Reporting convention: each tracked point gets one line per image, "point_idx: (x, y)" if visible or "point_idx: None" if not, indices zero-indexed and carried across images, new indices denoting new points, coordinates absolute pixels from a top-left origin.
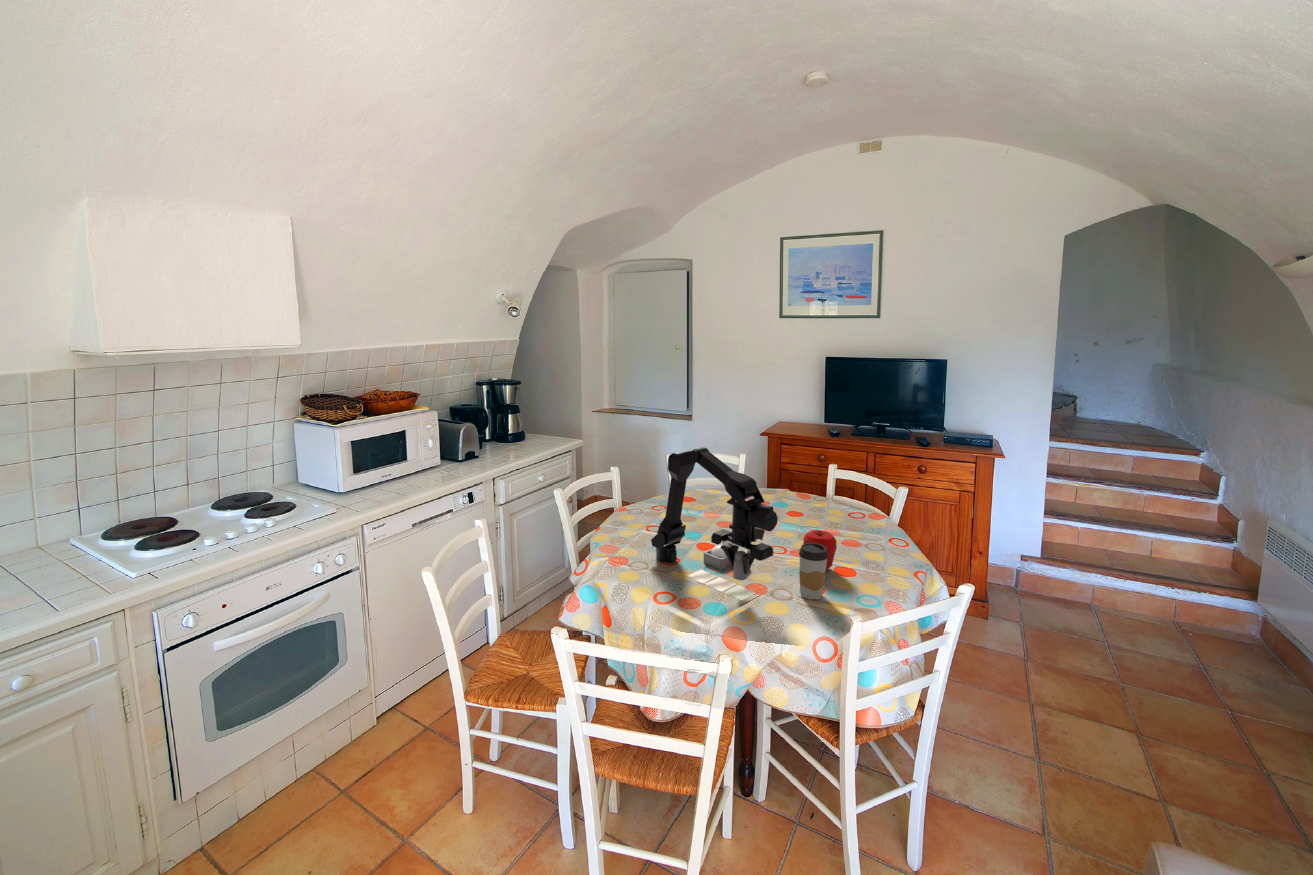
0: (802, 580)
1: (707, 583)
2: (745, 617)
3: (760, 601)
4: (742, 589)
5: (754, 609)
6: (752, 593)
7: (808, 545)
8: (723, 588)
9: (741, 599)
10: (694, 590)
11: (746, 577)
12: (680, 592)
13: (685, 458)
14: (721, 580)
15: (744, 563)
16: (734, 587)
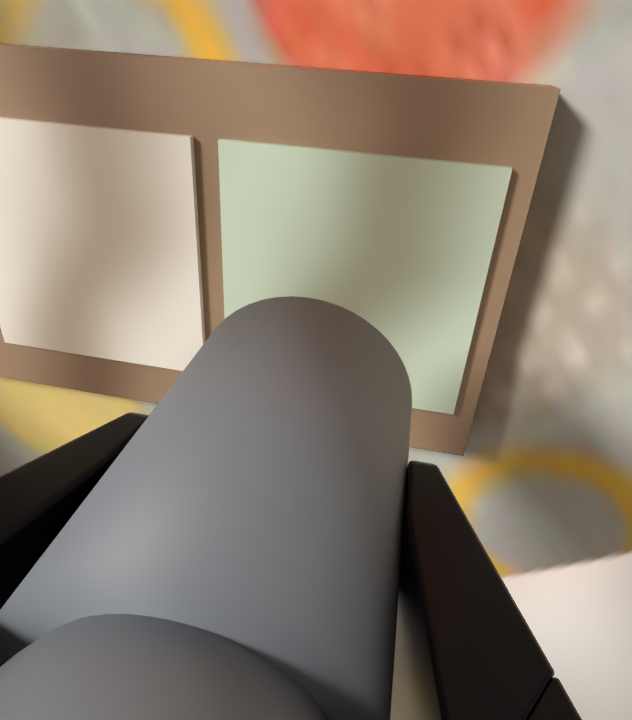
0: None
1: (9, 319)
2: (581, 534)
3: (602, 229)
4: (325, 207)
5: (603, 403)
6: (477, 216)
7: None
8: (169, 312)
9: (438, 397)
10: (29, 403)
11: (410, 404)
12: (6, 471)
13: None
14: (21, 170)
15: None
16: (228, 222)
